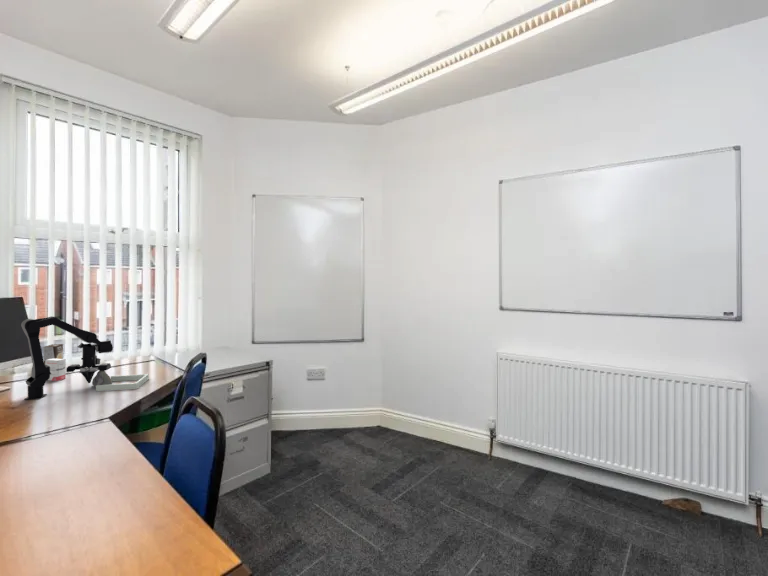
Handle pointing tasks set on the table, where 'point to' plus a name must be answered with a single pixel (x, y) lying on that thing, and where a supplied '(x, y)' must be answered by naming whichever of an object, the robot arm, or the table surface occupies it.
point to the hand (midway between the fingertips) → (89, 382)
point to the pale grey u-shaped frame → (140, 377)
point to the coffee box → (53, 352)
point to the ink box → (56, 369)
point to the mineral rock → (101, 379)
